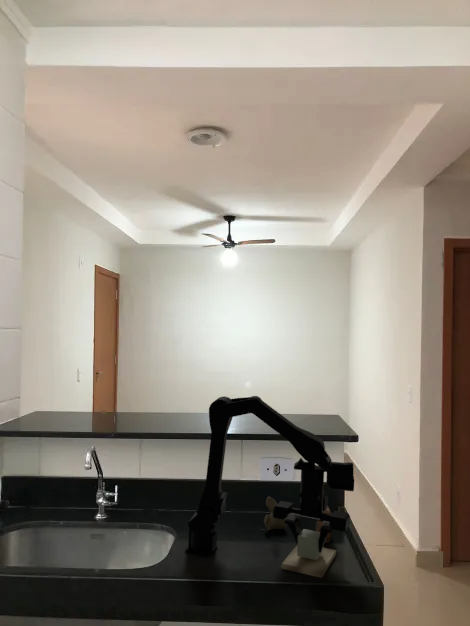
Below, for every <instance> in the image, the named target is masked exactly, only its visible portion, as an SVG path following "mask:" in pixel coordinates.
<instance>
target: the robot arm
mask: <svg viewBox="0 0 470 626" xmlns="http://www.w3.org/2000/svg"><path fill="white" fill-rule="evenodd" d="M247 414H250V415H251V414H252V415H254V416H255V417H257V418H258V419H259V420H261V421H262V422H263V423H264V424H266V425H267V426H269V427H270V428H271V429H272V430H274V431H275V432H276V433H277V434H279V435H280V436H282V437H283V438H284V439H286V440H287V441H288V442H289V443H290V444H291V446H292V447H293V448H294V450H295V451H296V452H297V453H298V454H299V455H300V456H301V458H299V459H298V461H297V462H295V463H294V465H293V469H294V470H295V471H296V470H297V471H300V492H299V493H298V494H299V495H298V498H299V507H298V508H297V507H295V504H294V502H290V501H285V500H280V501H279V502H277V505H276V506H275V507H274V508H273V518H277V519H282V520H284V519H285V521H284V523H286V525H288V526H287V527H289V529H290V531H291V533H292V536H293V538H294V540H295V543H296V545H297V546H298V535H299V534H300V533H301V532H302V518H303V519H308V520H313V521H315V520H318V521H323V526H322V527H321V528H320V540H319V552H320V553H321V551H322V549H323V548H324V547H325V544H326V543H325V541H326V538H327V536H328V534H329V532H331V533H333V532H334V531H338V532H346V531H347V530H348V528H349V526H350V524H351V515H350V513H348V512H344V511H340V510H339V511H338V510H333V512H332V513H331V514H332V515H330V514H325V513H323V511H325V510H326V509H327V505H328V504H329V503H328V502H329V496H327V495H325V488H324V485H325V484H324V483H325V482H324V481H325V480H324V478H325V473H326V486H328V488H330V490H333V491H344V492H345V491H346V492H354V491H355V477H354V463H353V462H348V461H347V462H339V461H332V458H331V457H330V455H329V454H328V452H327V451H326V446H325V442H324V439H322V438H321V437H320V436H318V435H316V434H314V433H312V432H310V431H308V430H306V429H303V428H301V427H299V426H297V425H296V424H294V423H293V422H291V420H289V419H287V418H286V417H285V416H284V415H283V414H281V413H279V412H278V411H277V410H276V409H275V408H273V407H272V406H270V405H269V404H268V403H266V402H265V401H263V400H262V398H261V397H260V396H258V395H252V396H248V397H236V398H235V397H234V398H230V397H228V396H220V397H218V398H217V399H215V400H214V401H213V402H212V403H211V404H210V405H209V408H208V418H209V419H208V420H209V427H210V433H211V434H210V435H211V436H210V443H209V452H208V461H207V469H206V476H205V478H206V479H205V486H204V489H203V492H202V494H201V497H200V501H199V503H198V506H197V510H196V511H195V512H194V513H193V515H191V518H190V519H189V521H188V523H187V526H188V543H187V545H188V546H187V547H186V548H185V549H184V551H185V552H187V553H190V554H195V555H199V556H202V557H203V556H204V557H208V556H210V555H211V554H212V553H213V552H215V550H216V549H218V548H219V547H218V544H217V543H218V533H217V531H216V526H217V525H214V524H215V523H217V521H218V520H219V518H220V516H223V513H224V511H225V510H226V508H227V505H226V499H227V496H228V492H227V491H223V488H222V482H223V481H222V480H223V473H224V472H223V471H224V465H225V464H224V463H225V454H226V445H227V439H228V437H227V436H228V431H229V429H230V427H231V423H232V420H233V417H239V416H243V415H247Z"/></svg>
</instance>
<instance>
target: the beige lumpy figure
mask: <svg viewBox="0 0 470 626" xmlns="http://www.w3.org/2000/svg"><path fill="white" fill-rule="evenodd" d="M277 504H278V502H277V501H276V500H275V499H274V498H273V497H272V496H267V498H266V500H265V505H266V507H267V508H268V509H269V510H268V511H269V514H268V513H266V515H265V516H264V518H263V523H264V525H265V527H266V528H267V529H266V531H271V530H275V529H276V530H284V529H286V528H287V527H288V526H287V525H288V524H286V523H284V521H285V519H286V518H285V519H284V520H282V519H277V518H273V508H274V507H275V506H276V505H277Z"/></svg>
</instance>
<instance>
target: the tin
mask: <svg viewBox="0 0 470 626" xmlns="http://www.w3.org/2000/svg"><path fill="white" fill-rule="evenodd" d="M323 513H325V514H330V515H332V514H333V513H332V512H331V509H330V506H329V505H328V504H327V509H326V510H325V511H323ZM314 521H315V523H314V524H315V526H314V527H315V531H316V532H320V528H321V527H322V526H323V521H318V520H314ZM331 539H332V532H329V534H328V536H327V538H326V541H325V544H327V543H328V544H329V543H330V542H331Z"/></svg>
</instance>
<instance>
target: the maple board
mask: <svg viewBox="0 0 470 626" xmlns="http://www.w3.org/2000/svg"><path fill="white" fill-rule="evenodd" d="M297 547H298V546H297V544H296V546H295V547H294V548H293V550H291V552H290V553H289V554H288V556H286V558H285V559H284V560H283V562H282V563H281V569H282V570H285V571H291V572H295V573H300V574H304V575H308V576H311V577H316V578H321V579H322V578H323V577H324V576H325V573H326V571H327V570H328V569H329V567H330V566H331V564H332V562H333V560H334V558H335V557H336V555H337V550H336V549H332V548H327V547H323V549H322V553H321V555H320V556H319V558H318V559H317V560H313V559H309V558H304V557H300V556H297Z"/></svg>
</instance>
